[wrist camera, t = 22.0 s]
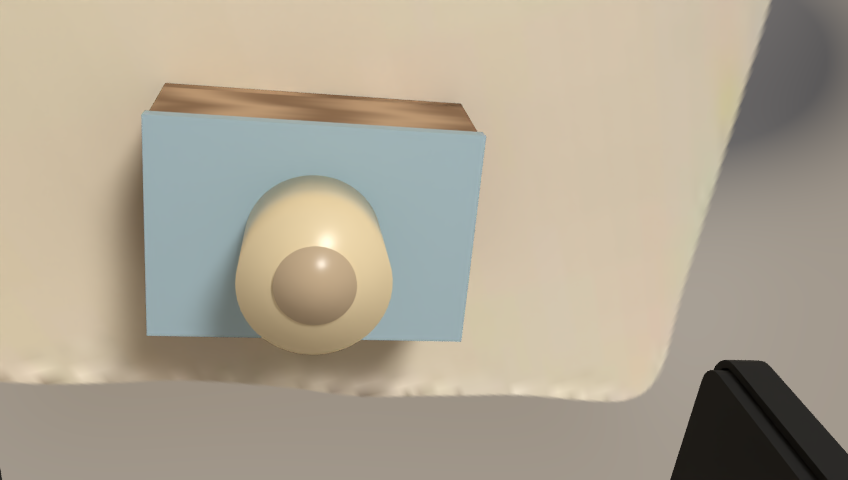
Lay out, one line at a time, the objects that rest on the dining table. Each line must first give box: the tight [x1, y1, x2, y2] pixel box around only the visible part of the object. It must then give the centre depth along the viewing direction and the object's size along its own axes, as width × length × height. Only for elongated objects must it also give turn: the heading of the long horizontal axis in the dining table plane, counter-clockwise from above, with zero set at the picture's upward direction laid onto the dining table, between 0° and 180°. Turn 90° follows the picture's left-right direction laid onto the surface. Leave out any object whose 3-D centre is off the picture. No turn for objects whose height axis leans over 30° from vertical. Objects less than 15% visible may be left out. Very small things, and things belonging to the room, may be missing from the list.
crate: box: [149, 83, 477, 132], centre depth 39 cm, size 14×10×5 cm
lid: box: [141, 110, 486, 342], centre depth 36 cm, size 14×10×1 cm
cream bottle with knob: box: [235, 175, 393, 355], centre depth 33 cm, size 6×6×5 cm
